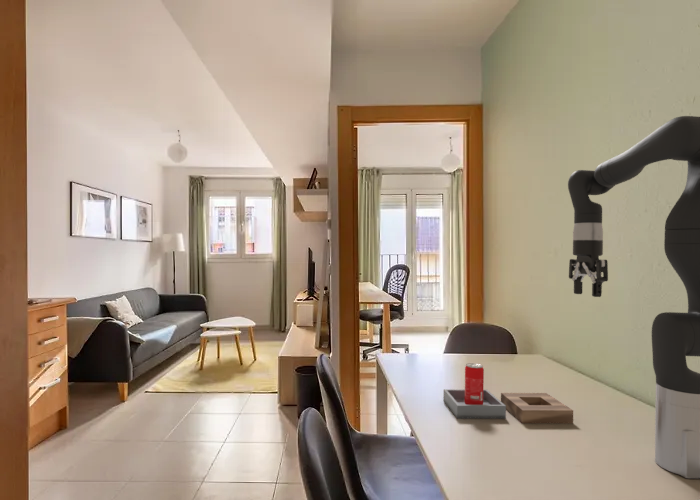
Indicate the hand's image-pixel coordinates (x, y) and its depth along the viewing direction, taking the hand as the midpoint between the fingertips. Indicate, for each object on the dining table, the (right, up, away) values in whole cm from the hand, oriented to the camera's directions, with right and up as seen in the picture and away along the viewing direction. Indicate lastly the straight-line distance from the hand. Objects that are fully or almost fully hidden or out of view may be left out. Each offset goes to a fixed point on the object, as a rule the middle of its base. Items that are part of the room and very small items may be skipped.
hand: (586, 295), depth 119 cm
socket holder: (-16, -34, -1) cm, 37 cm away
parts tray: (-33, -33, +1) cm, 47 cm away
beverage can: (-33, -33, +1) cm, 46 cm away
